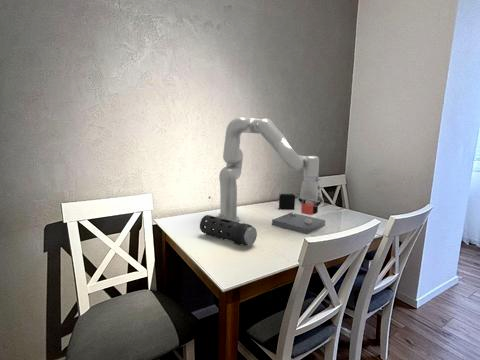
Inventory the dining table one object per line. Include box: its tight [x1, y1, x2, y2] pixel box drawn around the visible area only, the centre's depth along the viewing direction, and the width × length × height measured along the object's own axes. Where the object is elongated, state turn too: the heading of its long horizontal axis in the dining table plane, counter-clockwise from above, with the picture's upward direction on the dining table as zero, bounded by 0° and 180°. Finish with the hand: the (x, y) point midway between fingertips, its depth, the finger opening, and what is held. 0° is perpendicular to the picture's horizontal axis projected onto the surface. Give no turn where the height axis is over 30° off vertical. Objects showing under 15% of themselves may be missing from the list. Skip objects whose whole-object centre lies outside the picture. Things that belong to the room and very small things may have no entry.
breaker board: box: [271, 212, 326, 235], centre depth 162 cm, size 20×22×4 cm
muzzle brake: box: [199, 214, 258, 247], centre depth 137 cm, size 10×28×10 cm, turn 53°
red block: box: [300, 201, 315, 216], centre depth 157 cm, size 6×6×5 cm
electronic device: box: [278, 193, 296, 211], centre depth 196 cm, size 4×10×10 cm, turn 89°
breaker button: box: [305, 218, 312, 224], centre depth 158 cm, size 3×3×4 cm
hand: (309, 211), depth 157 cm, fingers closed on red block, 6 cm apart
